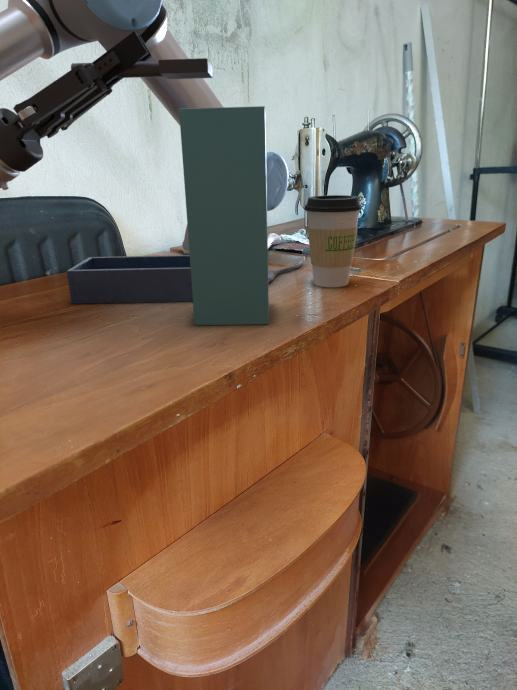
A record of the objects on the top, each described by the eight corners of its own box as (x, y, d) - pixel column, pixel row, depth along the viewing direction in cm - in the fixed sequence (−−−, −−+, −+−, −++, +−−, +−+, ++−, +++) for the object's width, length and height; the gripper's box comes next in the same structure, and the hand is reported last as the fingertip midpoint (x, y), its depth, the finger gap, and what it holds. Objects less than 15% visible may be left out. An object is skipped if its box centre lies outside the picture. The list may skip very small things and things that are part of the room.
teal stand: (268, 305, 81) (265, 110, 71) (268, 324, 73) (264, 106, 63) (202, 307, 81) (189, 113, 71) (194, 325, 73) (178, 108, 63)
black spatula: (212, 77, 69) (212, 62, 68) (208, 71, 63) (207, 55, 62) (82, 82, 69) (80, 66, 68) (66, 76, 63) (63, 59, 63)
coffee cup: (357, 290, 88) (361, 200, 83) (300, 289, 90) (300, 200, 85) (359, 277, 97) (362, 194, 92) (307, 276, 99) (307, 195, 94)
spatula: (270, 264, 108) (270, 251, 107) (251, 264, 108) (250, 251, 107) (281, 243, 134) (281, 232, 133) (266, 243, 134) (266, 232, 133)
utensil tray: (214, 284, 95) (213, 254, 93) (208, 301, 85) (206, 268, 83) (93, 286, 96) (88, 257, 94) (71, 303, 85) (66, 271, 83)
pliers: (301, 257, 111) (301, 280, 92) (301, 261, 111) (301, 284, 92) (256, 258, 111) (247, 280, 93) (256, 262, 112) (247, 285, 93)
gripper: (42, 171, 77) (171, 79, 73) (-7, 177, 64) (148, 64, 59) (8, 125, 75) (139, 27, 70) (-50, 120, 61) (108, -2, 57)
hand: (143, 44), depth 65 cm, fingers closed on black spatula, 2 cm apart
